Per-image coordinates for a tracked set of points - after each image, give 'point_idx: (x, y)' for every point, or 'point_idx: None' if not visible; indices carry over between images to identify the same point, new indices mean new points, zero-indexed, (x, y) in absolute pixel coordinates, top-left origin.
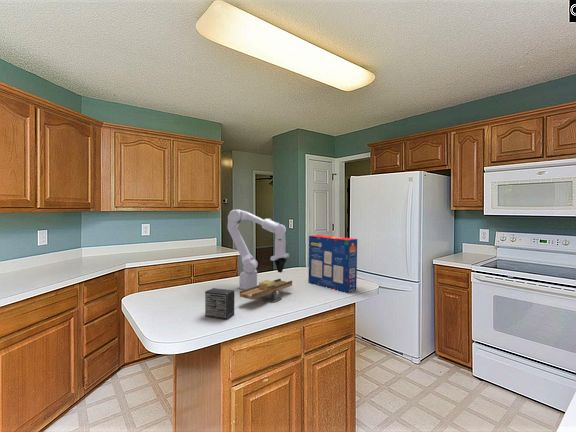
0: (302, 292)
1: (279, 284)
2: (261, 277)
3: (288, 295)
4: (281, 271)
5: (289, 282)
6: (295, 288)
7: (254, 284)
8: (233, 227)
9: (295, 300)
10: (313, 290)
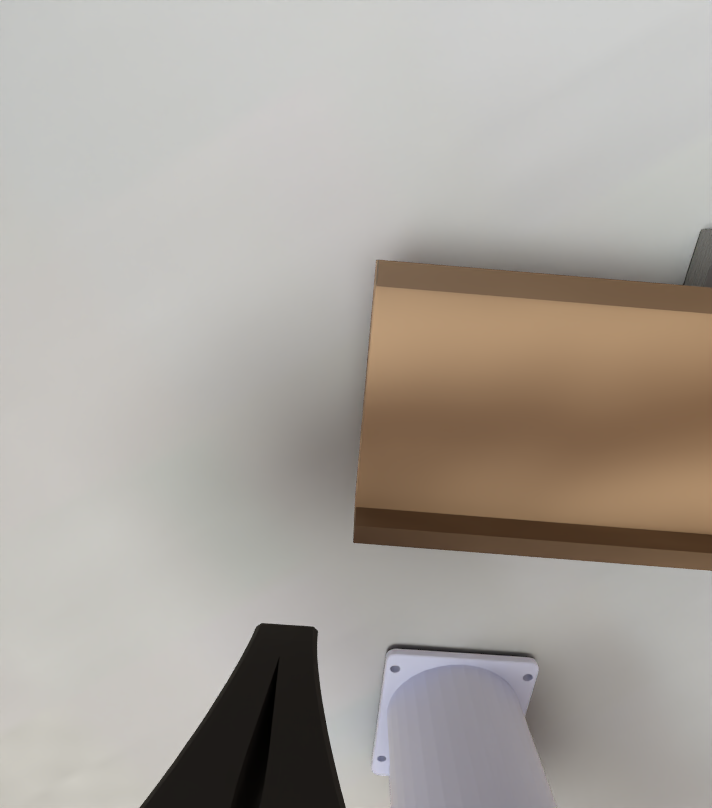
0: (271, 130)
1: (616, 394)
2: (63, 804)
3: (503, 242)
4: (294, 640)
5: (482, 269)
6: (163, 326)
7: (490, 711)
8: None
9: (692, 13)
10: (65, 11)
